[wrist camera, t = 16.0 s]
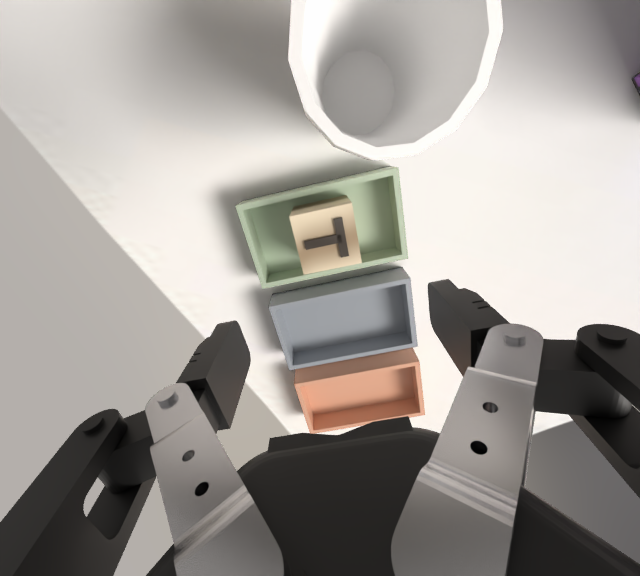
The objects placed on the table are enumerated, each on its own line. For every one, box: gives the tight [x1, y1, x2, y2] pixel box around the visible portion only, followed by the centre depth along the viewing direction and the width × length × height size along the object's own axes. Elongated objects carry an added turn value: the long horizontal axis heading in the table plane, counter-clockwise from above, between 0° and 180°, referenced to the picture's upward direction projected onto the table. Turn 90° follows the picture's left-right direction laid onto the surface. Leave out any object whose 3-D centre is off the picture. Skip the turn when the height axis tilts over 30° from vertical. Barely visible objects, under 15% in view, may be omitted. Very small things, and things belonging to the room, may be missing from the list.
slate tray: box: [269, 267, 418, 370], centre depth 32 cm, size 8×14×3 cm, turn 103°
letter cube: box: [289, 195, 362, 275], centre depth 27 cm, size 5×5×5 cm
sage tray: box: [235, 166, 408, 289], centre depth 28 cm, size 8×14×3 cm, turn 103°
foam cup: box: [288, 0, 503, 161], centre depth 19 cm, size 10×9×13 cm
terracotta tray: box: [294, 348, 425, 434], centre depth 36 cm, size 8×14×3 cm, turn 102°
